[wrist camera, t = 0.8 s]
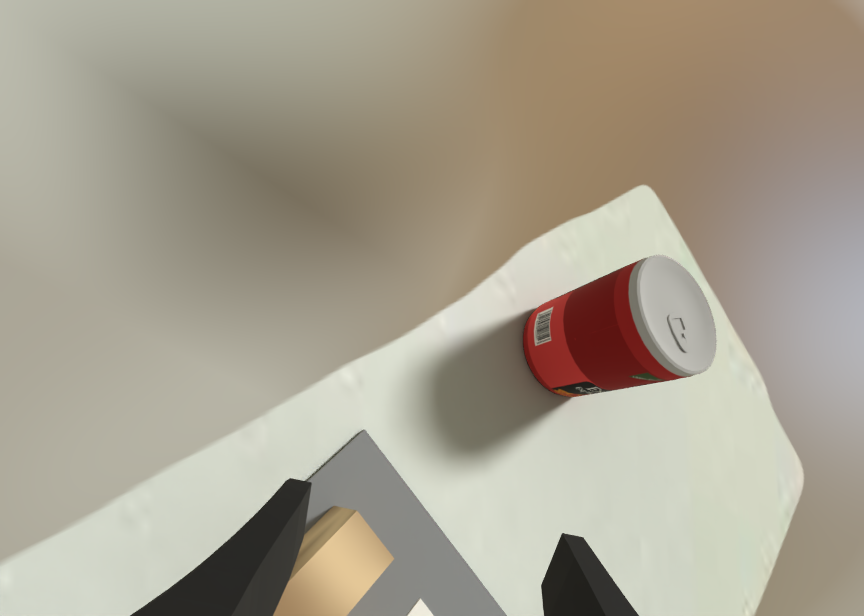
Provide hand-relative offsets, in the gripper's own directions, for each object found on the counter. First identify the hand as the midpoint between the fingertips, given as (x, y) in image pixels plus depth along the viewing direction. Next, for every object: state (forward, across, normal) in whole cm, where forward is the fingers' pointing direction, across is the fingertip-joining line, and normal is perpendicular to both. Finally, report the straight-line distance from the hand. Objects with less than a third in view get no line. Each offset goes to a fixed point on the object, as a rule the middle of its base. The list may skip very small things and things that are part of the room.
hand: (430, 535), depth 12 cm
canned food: (+25, -10, +3) cm, 27 cm away
